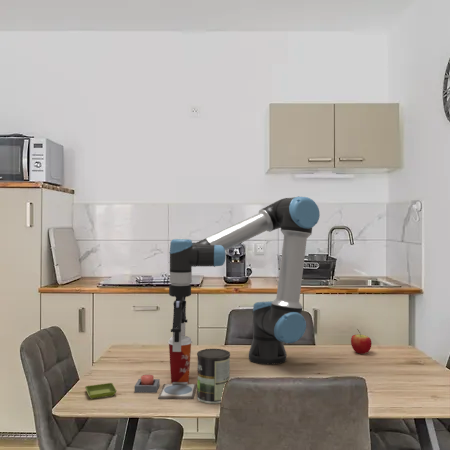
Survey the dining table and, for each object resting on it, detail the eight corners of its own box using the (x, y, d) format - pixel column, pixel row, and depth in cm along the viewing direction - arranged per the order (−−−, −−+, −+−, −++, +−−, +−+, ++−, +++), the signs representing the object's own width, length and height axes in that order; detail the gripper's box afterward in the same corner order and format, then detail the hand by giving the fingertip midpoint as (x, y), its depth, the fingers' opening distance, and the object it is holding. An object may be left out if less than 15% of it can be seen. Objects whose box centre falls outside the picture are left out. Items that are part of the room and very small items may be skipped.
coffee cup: (188, 386, 160) (188, 341, 160) (164, 385, 161) (164, 340, 161) (194, 378, 168) (195, 335, 168) (172, 377, 169) (172, 334, 169)
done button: (154, 383, 160) (154, 374, 160) (152, 387, 156) (152, 378, 156) (142, 382, 160) (142, 374, 160) (140, 387, 156) (140, 378, 156)
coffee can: (197, 404, 144) (197, 357, 144) (196, 392, 154) (196, 348, 154) (231, 403, 145) (231, 357, 145) (228, 391, 155) (228, 348, 155)
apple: (354, 349, 207) (355, 326, 207) (374, 352, 202) (374, 329, 202) (347, 353, 201) (347, 329, 201) (367, 357, 196) (367, 332, 196)
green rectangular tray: (88, 401, 147) (88, 395, 147) (84, 392, 155) (84, 386, 155) (117, 397, 151) (117, 391, 151) (112, 388, 159) (112, 382, 159)
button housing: (159, 385, 161) (159, 379, 161) (156, 392, 154) (156, 386, 154) (138, 384, 161) (138, 379, 161) (134, 392, 154) (134, 386, 154)
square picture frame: (196, 386, 160) (196, 382, 160) (193, 399, 148) (193, 395, 148) (163, 385, 161) (163, 381, 161) (158, 398, 149) (158, 394, 149)
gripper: (173, 279, 177) (172, 337, 177) (164, 288, 152) (162, 355, 152) (194, 280, 177) (193, 337, 177) (187, 289, 152) (186, 356, 152)
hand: (179, 346), depth 164 cm, fingers open, 13 cm apart
